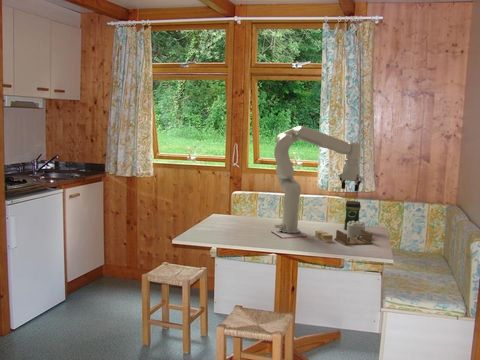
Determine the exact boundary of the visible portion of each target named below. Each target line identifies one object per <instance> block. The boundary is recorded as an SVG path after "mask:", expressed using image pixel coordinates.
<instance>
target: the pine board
mask: <svg viewBox="0 0 480 360" xmlns="http://www.w3.org/2000/svg"><path fill="white" fill-rule="evenodd" d="M314 234H315V236H314V237H315V238H316V239H317V240H320V241H321V242H323V243H332V242H333V235H332V234H330V233H328V232H327V231H325V230H315V233H314Z"/></svg>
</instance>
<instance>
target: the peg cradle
mask: <svg viewBox="0 0 480 360" xmlns="http://www.w3.org/2000/svg"><path fill="white" fill-rule="evenodd" d="M346 233H347V232H346ZM346 233H345V232H343V231H341V230H339V229H337V230H336V233H335V234H336V235H335V238H334V241H335V242H337V243H340V244H341V245H344V246H357V245H359V246H360V245H361V246H362V245H374V244H373V241H372V239H373V233H372V232H370V231H367V230H366V229H365V230H361V234H360V235H357V238H351V237H348V236H347V234H346Z"/></svg>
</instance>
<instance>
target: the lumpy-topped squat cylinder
mask: <svg viewBox="0 0 480 360" xmlns="http://www.w3.org/2000/svg"><path fill="white" fill-rule="evenodd" d="M361 230H365V231H366V224H365V223H364V221H361V222H360V220H359V221H356V222H355V221H352V222H351V221H349V222H348V223H347V230H346V234H347V238H348V237H350V238H357V235H360V234H361Z"/></svg>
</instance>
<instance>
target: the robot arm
mask: <svg viewBox="0 0 480 360" xmlns="http://www.w3.org/2000/svg"><path fill="white" fill-rule="evenodd" d="M298 141H302V142H306V143H308V144H310V145H313V146H316V147H319V148H322V149H328V150H331V151H334V152H335V153H337V154H341V155H345V156H346V157H345V159H344V162H345V163H344V165H343V168H342V171H341V172H342V173H340V174H338V177H339V178H338V179H339V180H340V182H341V187H340V188H341V190H345V189H346V182H347V181H349V182H354V192H359V189H360V188H359V187H360V185H361V184H362V182H363V180H364V178H363V176H361V175H360V165H359V160H360V159H359V158H360V147H361V146H360V143H359V142H353V141H350V142H347V141H344V140H342V139H339V138H336V137H333V136H332V135H331V136H330V135H328V134H326V133H324V132H321V131H318V130H315V129H313V128H310V127H308V126H305V125H298V126H295V127H293V128H291V129H287V130H286V131H283V132H282V133H278V135H277V137H276V138H275V142H276V143H275V146H274V152H273V154H274V155H273V156H274V159H275V163H276V166H275V173H276V177H277V179H278V182H279V186H280V188H281V190H282V192H284V195H283V204H282V206H283V207H282V220H281V222H280V223H279V224H274V229H279V231H280V232H281V231H282V233H285V232H287V233H286V234H297V233H298V234H299V233H300V231H301V229H300V228H298V224H299V213H300V212H299V209H300V208H299V207H300V197H301V191H302V188H301V185H300V183H299V182H298V181H297V180H295V178H294V174H295V169H294V167H293V164H292V161H291V158H290V154H289V150H290V148H291V146H292V145H293V144H294V143H297V142H298Z"/></svg>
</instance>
